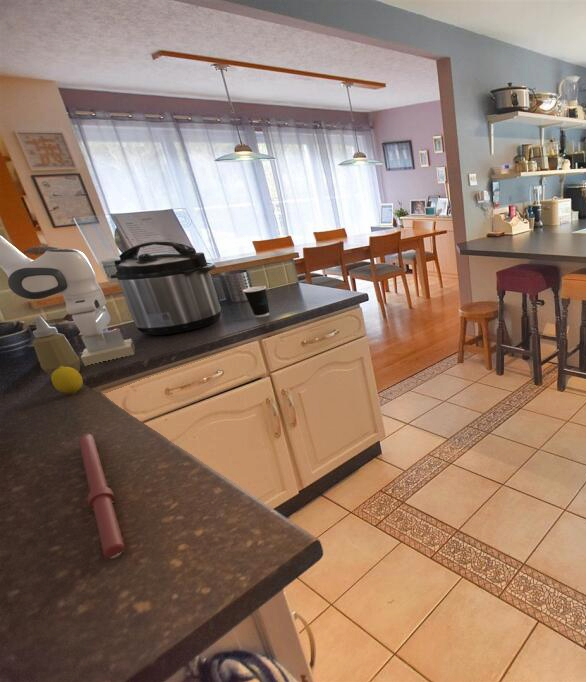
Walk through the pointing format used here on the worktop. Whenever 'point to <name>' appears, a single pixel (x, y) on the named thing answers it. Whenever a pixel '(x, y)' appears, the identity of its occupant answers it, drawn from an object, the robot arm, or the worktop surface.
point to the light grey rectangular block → (111, 337)
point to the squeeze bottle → (53, 348)
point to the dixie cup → (258, 300)
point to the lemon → (66, 379)
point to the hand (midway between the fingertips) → (105, 342)
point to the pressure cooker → (168, 289)
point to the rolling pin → (100, 498)
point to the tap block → (108, 353)
